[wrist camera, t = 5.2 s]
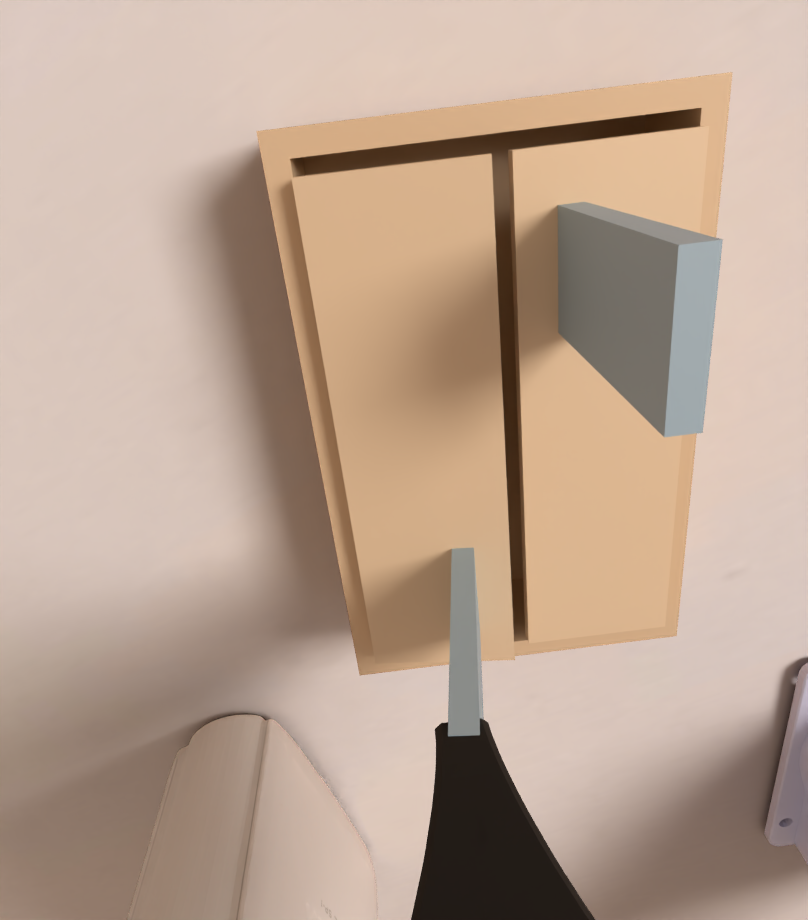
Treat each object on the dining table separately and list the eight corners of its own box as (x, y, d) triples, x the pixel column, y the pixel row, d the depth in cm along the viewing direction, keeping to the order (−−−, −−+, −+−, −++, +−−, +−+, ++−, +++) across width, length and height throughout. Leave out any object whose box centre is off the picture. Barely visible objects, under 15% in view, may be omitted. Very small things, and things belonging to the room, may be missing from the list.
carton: (634, 569, 20) (676, 636, 17) (360, 603, 20) (359, 675, 17) (662, 85, 14) (732, 71, 11) (276, 133, 14) (256, 131, 11)
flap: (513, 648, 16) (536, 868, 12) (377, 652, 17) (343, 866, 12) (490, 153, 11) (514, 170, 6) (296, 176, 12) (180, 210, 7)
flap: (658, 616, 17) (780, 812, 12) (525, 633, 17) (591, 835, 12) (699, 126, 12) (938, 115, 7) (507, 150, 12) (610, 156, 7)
